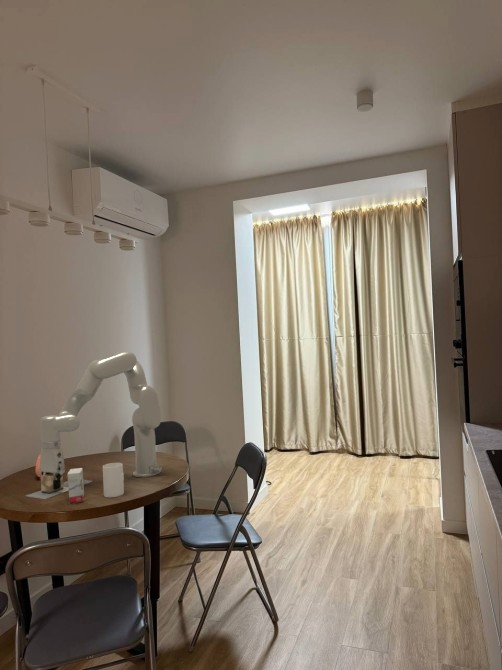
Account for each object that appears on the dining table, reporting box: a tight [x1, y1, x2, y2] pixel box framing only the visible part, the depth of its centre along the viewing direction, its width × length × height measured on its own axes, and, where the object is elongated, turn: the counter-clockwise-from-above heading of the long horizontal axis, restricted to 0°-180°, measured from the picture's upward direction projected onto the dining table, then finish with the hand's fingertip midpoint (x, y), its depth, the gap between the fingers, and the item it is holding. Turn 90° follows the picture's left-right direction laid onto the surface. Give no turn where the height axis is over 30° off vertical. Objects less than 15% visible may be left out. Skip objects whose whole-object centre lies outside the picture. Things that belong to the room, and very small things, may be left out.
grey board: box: [25, 479, 94, 500], centre depth 205 cm, size 12×26×1 cm, turn 152°
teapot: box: [35, 454, 58, 481], centre depth 229 cm, size 20×12×12 cm, turn 22°
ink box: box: [67, 467, 85, 505], centre depth 191 cm, size 9×5×12 cm, turn 13°
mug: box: [102, 462, 125, 498], centre depth 198 cm, size 8×12×12 cm
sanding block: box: [40, 473, 64, 494], centre depth 201 cm, size 5×7×7 cm
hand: (52, 487), depth 201 cm, fingers closed on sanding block, 5 cm apart
